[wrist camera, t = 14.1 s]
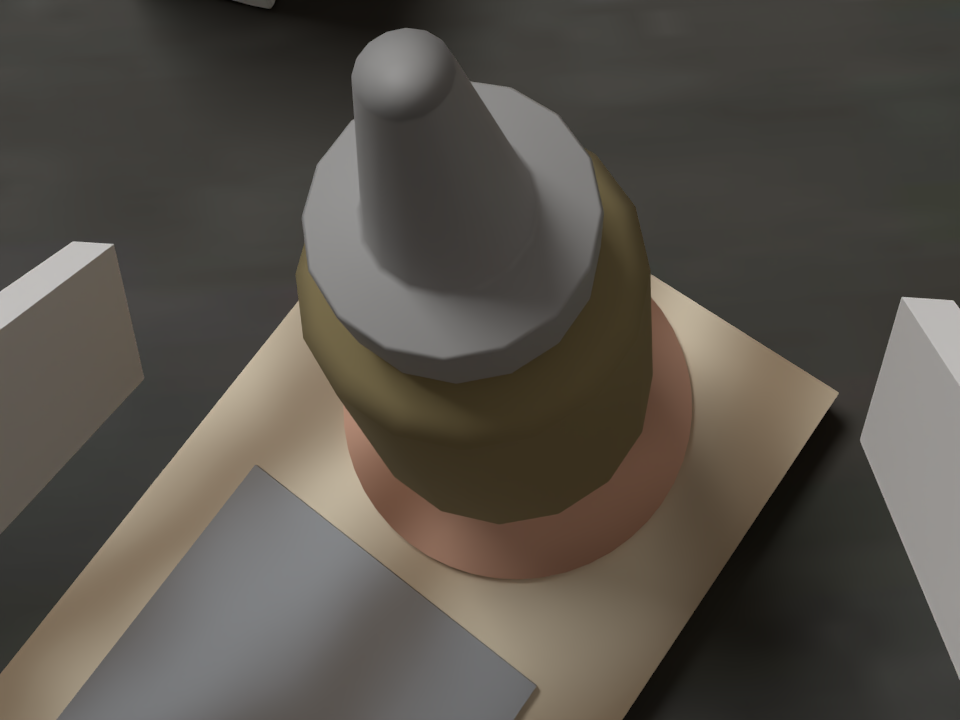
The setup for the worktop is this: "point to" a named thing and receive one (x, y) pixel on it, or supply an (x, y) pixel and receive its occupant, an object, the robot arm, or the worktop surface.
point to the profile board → (413, 558)
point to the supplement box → (258, 3)
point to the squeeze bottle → (475, 289)
